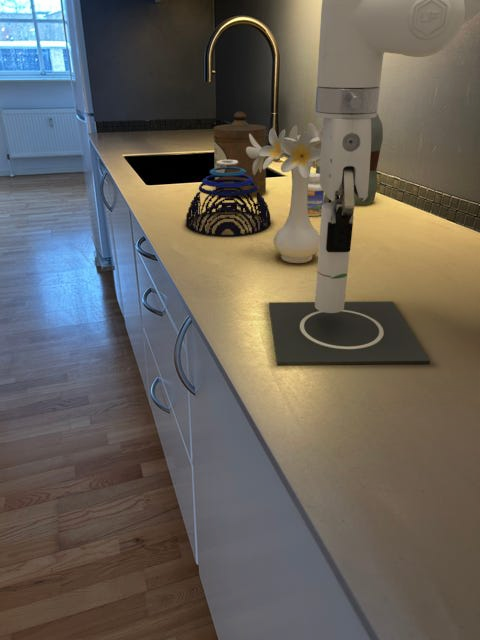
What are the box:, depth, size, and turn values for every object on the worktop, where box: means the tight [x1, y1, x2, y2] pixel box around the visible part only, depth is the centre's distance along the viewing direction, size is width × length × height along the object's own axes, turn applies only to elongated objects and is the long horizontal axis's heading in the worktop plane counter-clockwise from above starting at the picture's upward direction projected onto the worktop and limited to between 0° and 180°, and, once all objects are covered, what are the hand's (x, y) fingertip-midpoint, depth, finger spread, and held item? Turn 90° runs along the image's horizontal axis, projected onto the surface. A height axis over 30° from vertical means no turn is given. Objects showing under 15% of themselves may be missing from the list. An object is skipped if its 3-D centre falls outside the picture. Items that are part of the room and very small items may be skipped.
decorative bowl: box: [185, 160, 272, 238], centre depth 119 cm, size 20×20×14 cm
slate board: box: [268, 301, 431, 366], centre depth 75 cm, size 20×18×1 cm
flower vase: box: [246, 122, 322, 264], centre depth 95 cm, size 13×18×25 cm
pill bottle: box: [308, 172, 325, 217], centre depth 127 cm, size 5×5×10 cm
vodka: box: [354, 113, 384, 207], centre depth 133 cm, size 9×9×30 cm
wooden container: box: [213, 111, 267, 199], centre depth 145 cm, size 15×15×22 cm
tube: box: [314, 203, 351, 313], centre depth 72 cm, size 4×4×15 cm
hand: (334, 243), depth 71 cm, fingers closed on tube, 4 cm apart
